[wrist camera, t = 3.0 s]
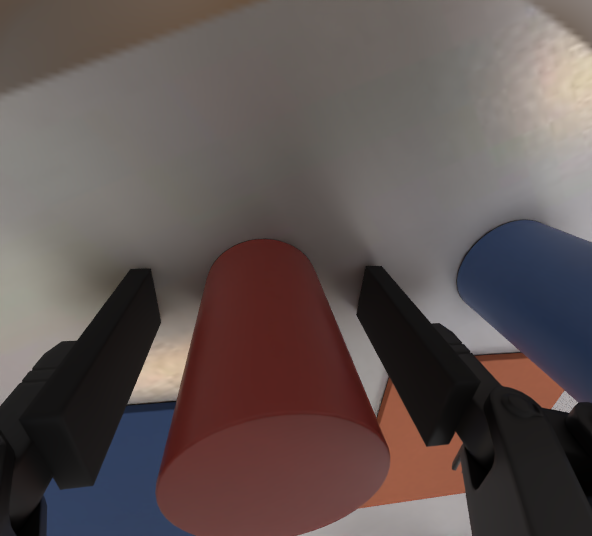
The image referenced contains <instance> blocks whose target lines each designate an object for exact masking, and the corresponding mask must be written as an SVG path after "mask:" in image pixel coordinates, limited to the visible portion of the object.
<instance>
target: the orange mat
mask: <svg viewBox="0 0 592 536" xmlns="http://www.w3.org/2000/svg"><path fill="white" fill-rule="evenodd" d="M475 357H476V358H477V359H478V360H479V361H480V362H481V364H482V365H483V366H484V367H485V368H486V369H487V370H488V371H489V372H490V373H491V374H492V375H493V377H494V378H495V379H496V380H497V381H498V382H499V383H500V384H501V385H502V386H504V387H511V388H513V389H516V390H518V391H521V392H523V393H524V394H526V395H528V396H529V397H531V398H532V399H533V400H535V401H536V402H537V403H538V404H539V405H540V406H541V407H542V408H547V409H551V408H552V407H553V405H554V404H555V403H556V401H557V400H558V398H559V397H560V396H561V394H562V393H563V392H564V389H563V388H561V387H560V386H559V385H558V384H557V383H556V382H555V381H554V380H552V379H551V378H550V377H549V376H548V375H547V374H546V373H545V372H543V371H542V370H541V369H540V368H539V367H538V366H537V365H535V364H534V363H533V362H532V361H531V360H530V359H529V358H528V357H526V356H525V355H524V354H523V353H510V354H494V355H479V356H475ZM377 421H378V423H379V426H380V428H381V430H382V433H383V435H384V438H385V440H386V443H387V445H388V447H389V452H390V468H389V471H388V474H387V477H386V479H385V481H384V482H383V484H382V485H381V487H380V488H379V490H378V491H377V492H376V493H375V494H374V495H373V496H372V497H371V498H370V499H369V500H368V501H367V502H366V503H364V504H363V505H362V506H360V507H359V508H364V507H371V506H378V505H385V504H392V503H399V502H406V501H412V500H419V499H426V498H433V497H440V496H447V495H453V494H460V493H466V492H465V486H464V479H463V473H461V471H462V467H461V462H460V464H459V466H458V468H457V469H456V471H455V470H452V462H453V460H454V458H455V457H456V455H457V453H458V451H459V449H460V447H461V445H462V444H463V442H462V441H461V439H460V438H459V436H458V435H457V433H456V432H455V434H454V436H453V438H452V440H451V442H450V444H448V445H439V446H431V447H426V445H425V443H424V441H423V439H422V438H421V436H420V434H419V432H418V430H417V428H416V426H415V424H414V422H413V421H412V419H411V417H410V415H409V413H408V411H407V409H406V407H405V405H404V404H403V402H402V400H401V398H400V396H399V394H398V392H397V390H396V389H395V387H394V385H393V383H392V381H391V379H390V377H389V380H388V383H387V387H386V390H385V393H384V397H383V400H382V403H381V407H380V410H379V413H378V417H377Z"/></svg>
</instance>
